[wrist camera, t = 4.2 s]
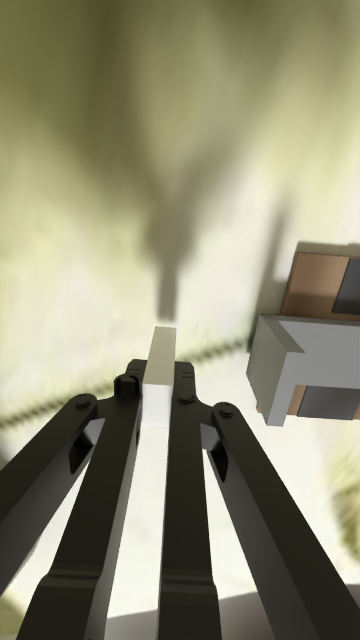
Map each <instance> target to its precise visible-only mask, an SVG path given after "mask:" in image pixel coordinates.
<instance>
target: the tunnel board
mask: <svg viewBox="0 0 360 640" xmlns="http://www.w3.org/2000/svg"><path fill="white" fill-rule="evenodd" d="M280 316H292V317H305V318H318V319H331V320H344V321H357V322H360V257H348V256H336V255H324V254H312V253H300V252H295V256H294V260H293V264H292V268H291V272H290V276H289V280H288V284H287V288H286V292H285V296H284V300H283V304H282V308H281V312H280ZM256 409H257V411H258V413H261V410H260V408H259V405H258V403H257V407H256ZM287 415H297V417H309V418H324V419H339V420H353V419H359V420H360V389H354V388H339V387H325V386H310V385H296V386H295V389H294V392H293V396H292V399H291V402H290V405H289V408H288V411H287Z"/></svg>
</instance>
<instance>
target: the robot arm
mask: <svg viewBox="0 0 360 640" xmlns="http://www.w3.org/2000/svg"><path fill="white" fill-rule="evenodd" d="M175 345H176V328H171V327H157V326H155V331H154V335H153V339H152V344H151V348H150V352H149V357H148V360H140V359H133V360H132V361H131V362H130V363H129V364H128V366H127V370H126V372H125V374H122V375H119V376H118V377H116V378H115V380H114V396H112V397H110V398H107V399H102V400H97V398H96V397H95V396H94V395H92V394H86V393H85V394H79V395H77V396H74V397H73V398H72V399H70V400H69V401H68V402H67V403H66V404H65V405H64V406H63V407H62V408H61V409H60V410H59V412H58V413H57V414H56V415H55V416H54V417H53V418H52V419H51V420H50V421H49V422H48V423H47V424H46V425H45V426H44V427H43V428H42V429H41V430H40V431H39V432H38V433H37V434H36V435H35V436H34V437H33V438H32V439H31V440H30V441H29V442H28V443H27V444H26V445H25V446H24V447H23V449H22V450H21V451H20V452H19V453H18V454H17V455H16V456H15V457H14V458H13V459H12V460H11V461H10V462H9V463H8V464H7V465H6V466H5V467H4V468H3V469H2V470H1V471H0V598H1V596H2V595H3V594H4V592H5V591H6V590H7V588H8V587H9V586H10V584H11V583H12V582H13V580H14V579H15V577H16V576H17V575H18V573H19V572H20V571H21V569H22V568H23V567H24V565H25V564H26V563H27V561H28V560H29V558H30V557H31V556H32V554H33V552H34V550H35V548H36V546H37V544H38V542H39V539H40V537H41V535H42V532H43V531H44V529H45V528H46V526H47V524H48V523H49V521H50V520H51V518H52V517H53V515H54V514H55V512H56V511H57V509H58V508H59V506H60V505H61V503H62V501H63V500H64V498H65V497H66V495H67V494H68V492H69V491H70V489H71V488H72V486H73V485H74V483H75V482H76V480H77V478H78V477H79V475H80V474H81V472H82V471H83V469H84V468H85V466H86V465H87V463H88V462H89V460H90V462H89V465H88V468H87V470H86V473H85V476H84V478H83V481H82V484H81V487H80V489H79V492H78V495H77V498H76V500H75V503H74V506H73V509H72V511H71V514H70V517H69V520H68V522H67V525H66V528H65V530H64V533H63V536H62V539H61V541H60V544H59V547H58V550H57V552H56V555H55V558H54V561H53V563H52V566H51V568H50V570H49V572H48V574H46V575H45V576H44V577H43V578H42V579H41V580H40V582H39V584H38V585H37V587H36V590H35V592H34V594H33V597H32V599H31V602H30V604H29V607H28V609H27V612H26V615H25V617H24V620H23V622H22V625H21V628H20V630H19V633H18V635H17V638H16V640H104V635H105V625H106V619H107V613H108V607H109V602H110V596H111V591H112V585H113V580H114V575H115V569H116V564H117V558H118V553H119V547H120V542H121V536H122V531H123V526H124V520H125V515H126V509H127V504H128V498H129V493H130V487H131V482H132V477H133V471H134V466H135V460H136V455H137V449H138V444H139V439H140V427H156V428H169V438H168V455H167V470H166V486H165V502H164V518H163V533H162V549H161V565H160V581H159V597H158V613H157V627H156V640H222V635H221V624H220V613H219V603H218V594H217V589H216V586H215V584H214V582H213V576H212V566H211V553H210V541H209V528H208V516H207V503H206V491H205V479H204V466H203V454H202V448H203V449H206V451H207V455H208V458H209V460H210V463H211V466H212V469H213V471H214V474H215V477H216V479H217V482H218V485H219V487H220V490H221V493H222V496H223V498H224V501H225V504H226V506H227V509H228V512H229V515H230V517H231V520H232V523H233V525H234V528H235V531H236V533H237V536H238V539H239V542H240V544H241V547H242V550H243V552H244V555H245V558H246V560H247V563H248V566H249V569H250V571H251V574H252V577H253V579H254V582H255V585H256V588H257V590H258V593H259V596H260V598H261V601H262V604H263V606H264V609H265V612H266V615H267V617H268V620H269V623H270V625H271V628H272V631H273V634H274V636H275V639H276V640H360V609H359V607H358V605H357V604H356V602H355V601H354V599H353V597H352V596H351V594H350V592H349V590H348V589H347V587H346V586H345V584H344V582H343V581H342V579H341V577H340V576H339V574H338V572H337V571H336V569H335V567H334V566H333V564H332V562H331V561H330V559H329V557H328V556H327V554H326V552H325V551H324V549H323V548H322V546H321V544H320V543H319V541H318V539H317V538H316V536H315V534H314V533H313V531H312V529H311V528H310V526H309V524H308V523H307V521H306V519H305V518H304V516H303V514H302V513H301V511H300V510H299V508H298V506H297V505H296V503H295V501H294V500H293V498H292V496H291V495H290V493H289V491H288V490H287V488H286V486H285V485H284V483H283V481H282V480H281V478H280V477H279V475H278V473H277V472H276V470H275V468H274V467H273V465H272V463H271V462H270V460H269V458H268V457H267V455H266V453H265V452H264V450H263V448H262V447H261V445H260V443H259V442H258V440H257V439H256V437H255V435H254V434H253V432H252V430H251V429H250V427H249V425H248V424H247V422H246V420H245V419H244V417H243V415H242V414H241V412H240V410H239V409H238V408H237V407H236V406H235V405H233V404H231V403H228V402H219V403H217V404H215V405H214V407H212V406H209V405H206V404H204V403H202V402H201V401H200V400H199V399H198V398H197V396H196V387H195V374H194V367H193V365H192V364H191V363H190V362H176V361H175Z"/></svg>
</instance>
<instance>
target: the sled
mask: <svg viewBox="0 0 360 640" xmlns="http://www.w3.org/2000/svg"><path fill="white" fill-rule="evenodd" d="M246 375H247V377H248V380H249V382H250V385H251V387H252V390H253V392H254V395H255V397H256V400H257V403H258V405H259V408H260V410H261V413H262V415H263V418H264V420H265V423H266V425H267V426H282V427H283V424H284V421H285V418H286V415H287V411H288V408H289V405H290V402H291V399H292V396H293V392H294V389H295V386H296V385H310V386H325V387H339V388H354V389H360V322H357V321H344V320H331V319H318V318H305V317H292V316H279V315H266V314H259V316H258V321H257V326H256V330H255V335H254V339H253V344H252V349H251V353H250V358H249V362H248V367H247V372H246Z"/></svg>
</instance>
